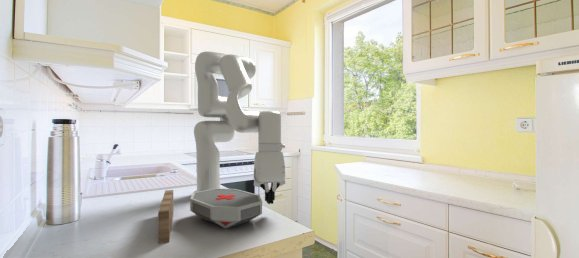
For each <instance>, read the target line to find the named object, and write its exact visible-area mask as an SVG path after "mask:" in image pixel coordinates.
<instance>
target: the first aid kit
mask: <svg viewBox="0 0 579 258" xmlns="http://www.w3.org/2000/svg"><path fill="white" fill-rule="evenodd" d="M193 192H194V191H193ZM193 192H192V194H191V196H190V198H189V208H190V209H189V211H190V212H191V213H193V214H195V215H196V216H198V217H199V218H200V219H202V220H203V221H204V220H206V221H208V222H211V223H213V224H216V225H218V226H220V227H222V228H223V229H229V228H231V227H235V226H237V225H240V224H243V223H246V222H250V221H252V220H254V219H256V218H257V217H259V216H261V215H262V214H263V200H262V198H261V196H260V194H257V193H252V192H250V191H249V192H248V191H246V190H245V191H244V190H241V189H237V188H220V189H219V188H215V189H210V190H205V191H199V192H194V193H193Z"/></svg>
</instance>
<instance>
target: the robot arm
mask: <svg viewBox="0 0 579 258" xmlns="http://www.w3.org/2000/svg"><path fill="white" fill-rule="evenodd" d="M194 61H195V62H194V73H195V77H196V81H197V111H198V114H199V115H200V116H201V117H204V118H214V119H215V118H217V119H218V118H219V120H201V121H198V122H197V123H196V124H195V126H194V127H193V136H194V141H195V150H196V190H195V191H193V192H192V194H193V193H194V192H199V191H205V190H210V189H215V188H219V189H221V184H220V183H221V177H220V176H221V174H220V173H221V172H220V170H221V169H220V167H221V166H220V165H221V164H220V163H221V162H220V161H221V160H220V158H221V157H220V155H221V154H220V151H219V149H218V147H217V145H216V144H217V143H227V142H231V140H233V139H234V136H235V132H237V133H239V134H247V133H249V134H250V133H252V134H253V133H254V134H255V133H256V134H257V133H258V135H257V136H258V143H257V144H258V148H257V149H258V150H257V151H256V152H255V156H254V160H253V161H254V163H253V180H254V181H253V186H255V187H256V188H257V187H258V188H261V189H263V191H264V201H265V202H266V203H267V204H268V205H270V204H271V205H274V201H275V199H276V198H275V197H276V195H275V194H276V191H277V190H278V188H279V187H280V186H283V185H285V184H286V163H285V156H284V152H283V151H282V149H285V148H286V144H284V143H282V130H281V129H282V115H281V113H280V112H279V111H276V110H275V111H274V110H263V111H262V110H261V111H260V110H243V109H242V107H241V104H240V101H239V100H240V99H242V98H244V97H246V96H247V95H248V94H250V93H251V91H252V89H253V85H252V83H251V79H253V77H255V75H256V71H257V69H256V67H257V66H256V64H255V62H254V60H252V59H251V58H250V57H245V56H242V55H236V54H226V53H220V52H215V51H202V52H200V53H198V55H197V56H196V58H195V60H194ZM214 74H215V75H222V77H223V79H224V82H225V83H226V86H227V88H228V91H229V93H228V96H226V95H225V96H224V95H220V93H219V89H220V87H219V83H218V81H217V79H216V77H215V75H214ZM269 184H270V186H269Z"/></svg>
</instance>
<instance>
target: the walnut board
mask: <svg viewBox="0 0 579 258" xmlns="http://www.w3.org/2000/svg"><path fill="white" fill-rule="evenodd" d="M157 216H158V217H157V218H158V222H157V223H158V225H157V226H158V244H163V243H170V240H171V239H170V238H171V231H172V225H173V220H174V190H173V189H169V190H165V191H164V194H163V197H162V200H161V203H160V206H159V209H158V215H157Z"/></svg>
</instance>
